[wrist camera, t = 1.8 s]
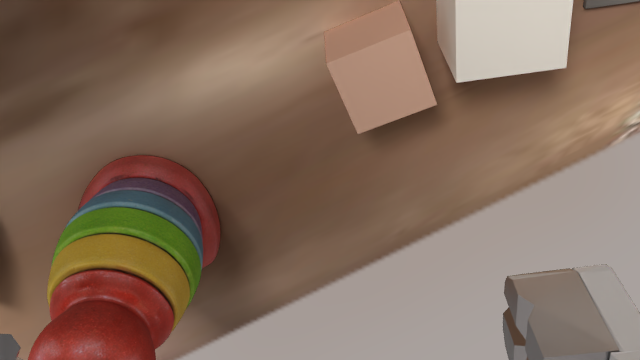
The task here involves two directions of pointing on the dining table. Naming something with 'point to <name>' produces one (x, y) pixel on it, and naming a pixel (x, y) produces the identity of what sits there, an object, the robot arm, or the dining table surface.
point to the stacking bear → (128, 262)
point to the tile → (604, 3)
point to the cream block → (503, 36)
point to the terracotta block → (378, 68)
